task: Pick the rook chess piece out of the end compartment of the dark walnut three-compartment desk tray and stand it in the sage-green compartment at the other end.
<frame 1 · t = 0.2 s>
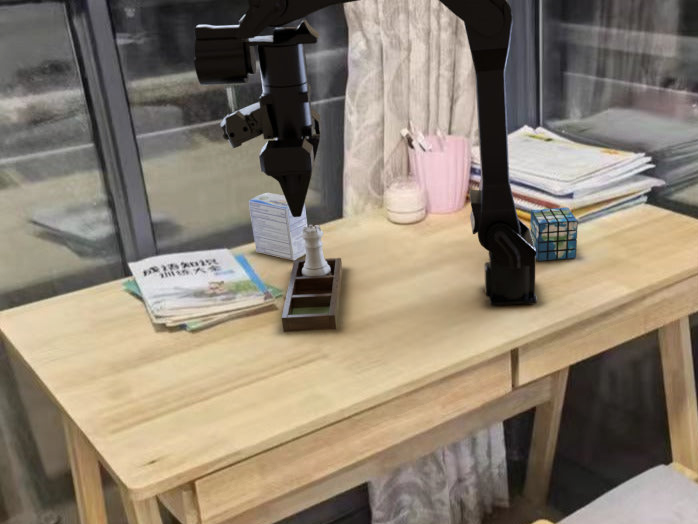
hand: (299, 204, 126), 15 cm above the table, tool pointing down, fingers open, 9 cm apart
puzzle: (552, 253, 147), on the table
rook chess piece: (317, 280, 140), resting on tray
tray: (314, 299, 135), on the table
medicine box: (283, 253, 150), on the table
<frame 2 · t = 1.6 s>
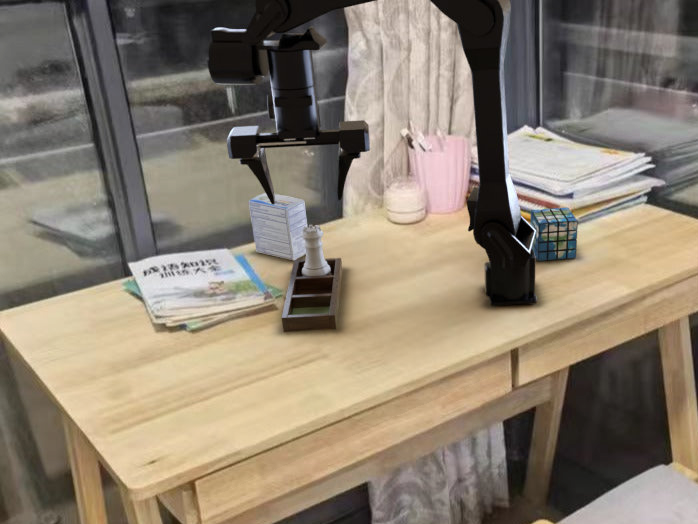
hand: (306, 201, 132), 13 cm above the table, tool pointing down, fingers open, 9 cm apart
nothing on the table moved.
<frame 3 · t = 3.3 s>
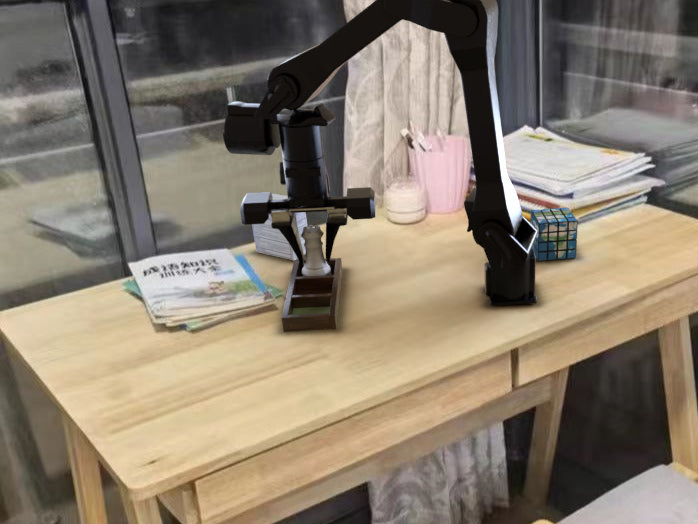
hand: (315, 262, 139), 3 cm above the table, tool pointing down, fingers closed on rook chess piece, 3 cm apart
rook chess piece: (317, 280, 140), resting on tray, touching gripper
everything else where it was.
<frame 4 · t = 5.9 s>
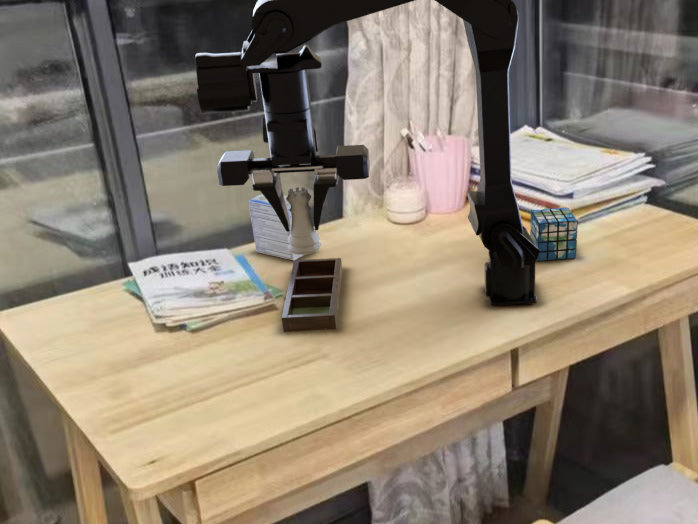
hand: (302, 229, 124), 12 cm above the table, tool pointing down, fingers closed on rook chess piece, 3 cm apart
rook chess piece: (305, 250, 126), point 9 cm above the table, touching gripper
everything else where it was.
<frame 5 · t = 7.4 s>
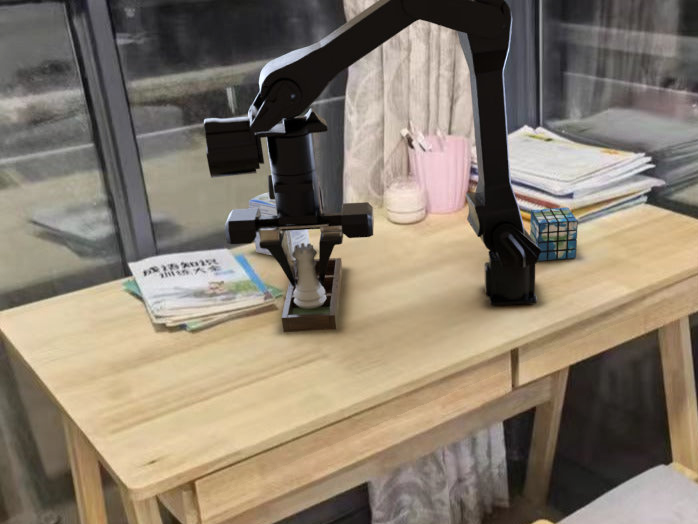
hand: (308, 284, 127), 5 cm above the table, tool pointing down, fingers closed on rook chess piece, 3 cm apart
rook chess piece: (310, 303, 129), point 2 cm above the table, touching gripper
everything else where it was.
when the fingers open (3 cm above the table, at t = 8.3 s): rook chess piece stays where it is, resting on tray.
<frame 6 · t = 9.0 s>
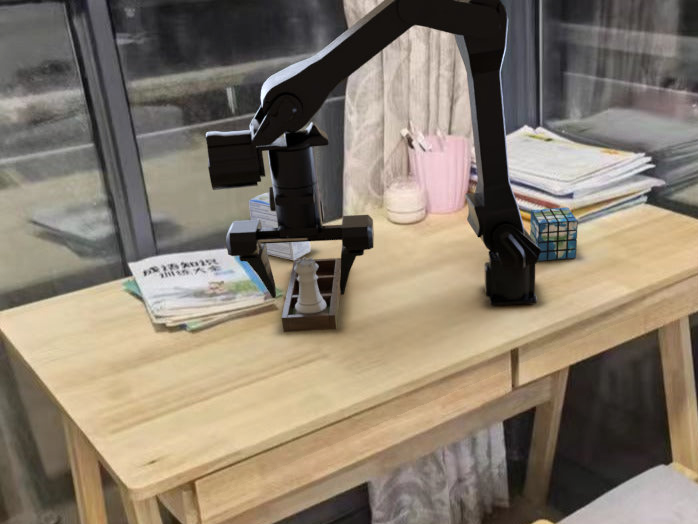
hand: (308, 295, 128), 4 cm above the table, tool pointing down, fingers open, 9 cm apart
rook chess piece: (312, 316, 130), resting on tray
everything else where it was.
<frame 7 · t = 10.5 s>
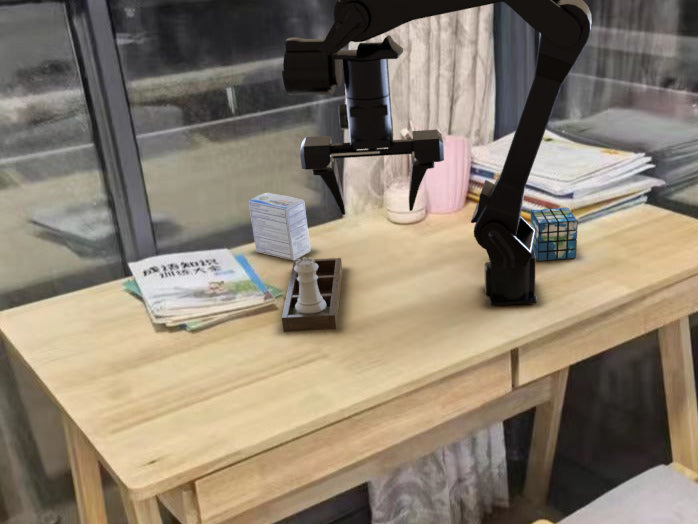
hand: (377, 211, 130), 12 cm above the table, tool pointing down, fingers open, 9 cm apart
nothing on the table moved.
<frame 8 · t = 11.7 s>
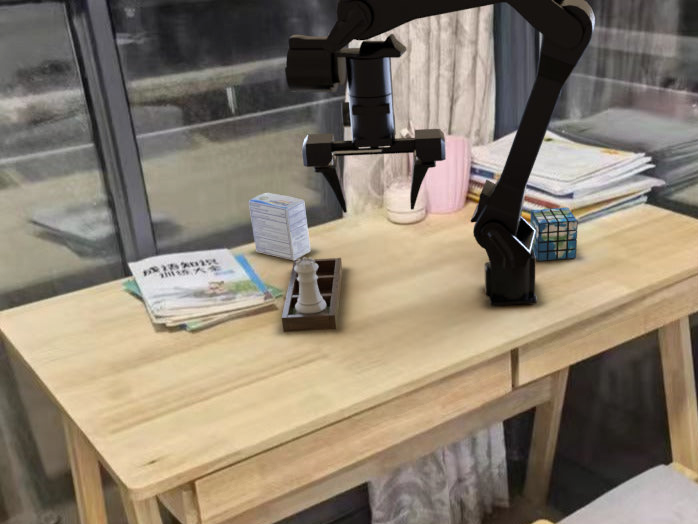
hand: (378, 210, 130), 12 cm above the table, tool pointing down, fingers open, 9 cm apart
nothing on the table moved.
at the end: rook chess piece 0.1 cm from the target spot in the tray, point 0.3 cm above the tray's base; rook chess piece tilted 0°; the gripper is holding nothing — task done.
